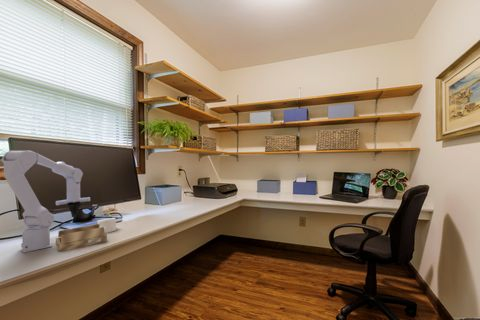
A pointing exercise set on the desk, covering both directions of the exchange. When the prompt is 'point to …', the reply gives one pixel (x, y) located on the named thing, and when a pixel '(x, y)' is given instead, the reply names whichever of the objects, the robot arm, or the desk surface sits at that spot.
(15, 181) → the robot arm
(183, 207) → the desk surface
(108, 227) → the bracket
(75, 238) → the flap near
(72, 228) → the flap far
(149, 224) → the desk surface
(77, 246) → the carton
